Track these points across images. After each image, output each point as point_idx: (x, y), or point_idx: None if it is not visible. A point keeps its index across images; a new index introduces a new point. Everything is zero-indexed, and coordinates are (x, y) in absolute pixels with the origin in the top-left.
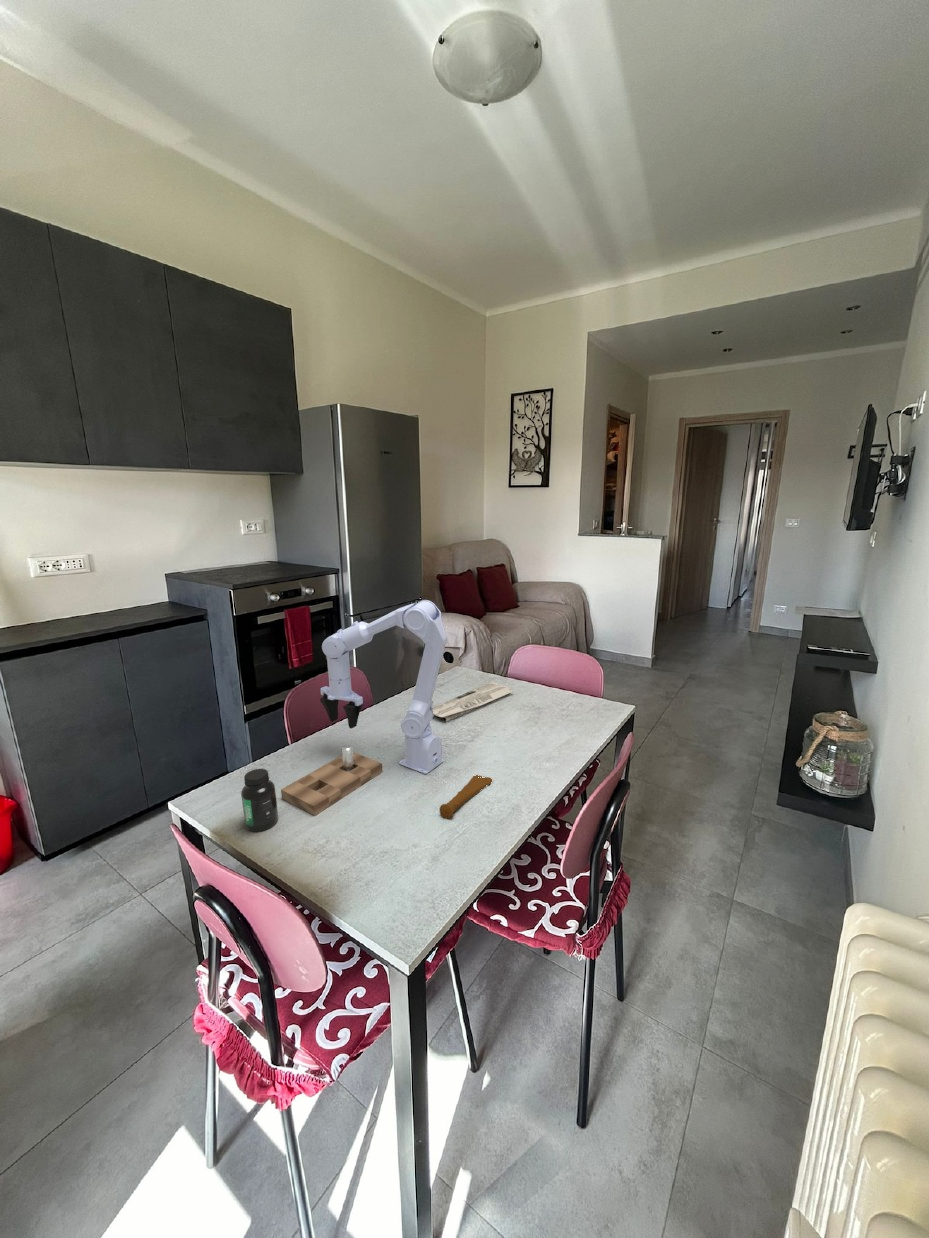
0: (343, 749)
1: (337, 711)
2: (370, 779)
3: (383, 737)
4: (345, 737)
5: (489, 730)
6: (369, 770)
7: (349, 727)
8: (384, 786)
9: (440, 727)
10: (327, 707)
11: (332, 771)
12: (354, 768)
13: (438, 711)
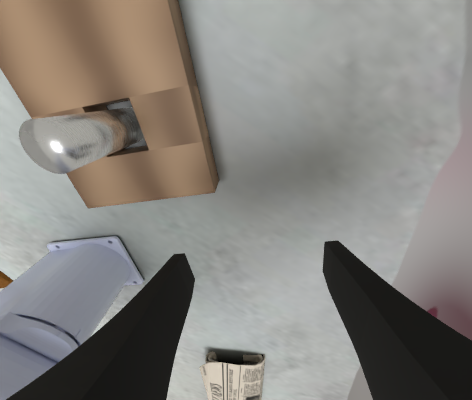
0: (31, 120)
1: (342, 317)
2: None
3: (250, 280)
4: (332, 236)
5: None
6: None
7: (181, 255)
8: None
9: (201, 340)
10: (401, 341)
11: (114, 60)
12: None
13: (233, 370)
